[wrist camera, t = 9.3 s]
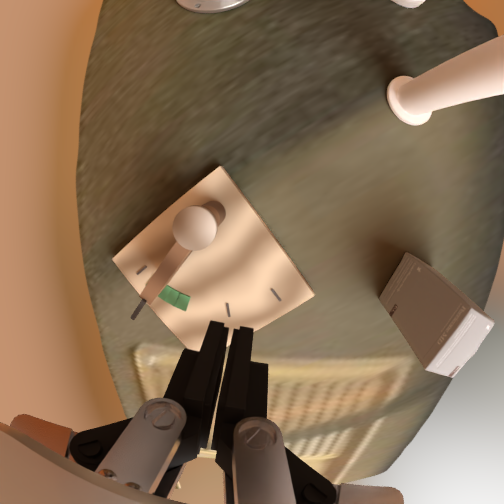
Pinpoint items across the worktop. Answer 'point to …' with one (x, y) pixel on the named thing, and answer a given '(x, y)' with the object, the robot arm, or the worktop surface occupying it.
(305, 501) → the robot arm
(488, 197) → the worktop surface
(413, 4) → the bottle
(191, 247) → the peg
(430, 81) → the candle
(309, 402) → the worktop surface
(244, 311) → the tuner plate
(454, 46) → the worktop surface
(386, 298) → the skincare box
